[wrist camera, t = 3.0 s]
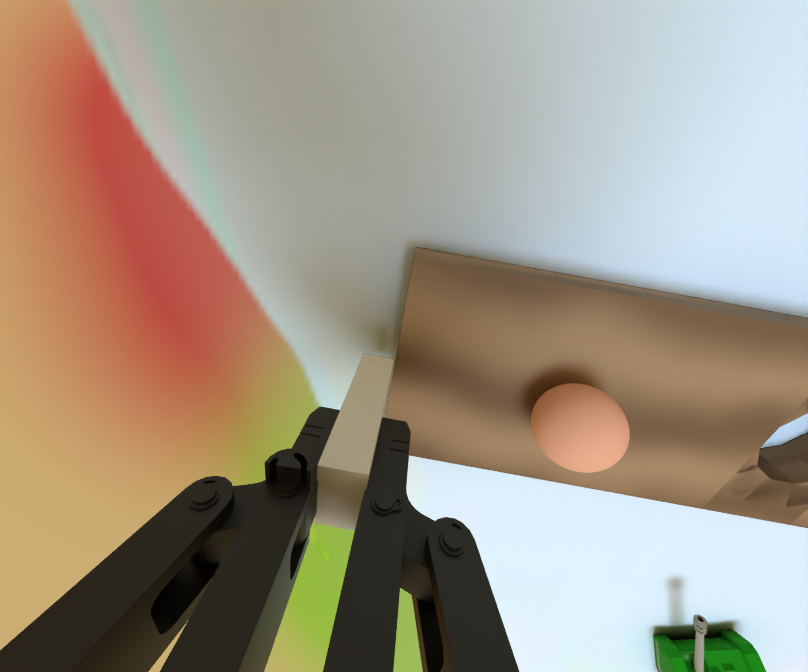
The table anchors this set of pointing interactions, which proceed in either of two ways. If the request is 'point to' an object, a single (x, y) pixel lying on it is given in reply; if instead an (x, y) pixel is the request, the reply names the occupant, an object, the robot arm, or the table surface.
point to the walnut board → (605, 382)
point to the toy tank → (706, 652)
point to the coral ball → (580, 428)
